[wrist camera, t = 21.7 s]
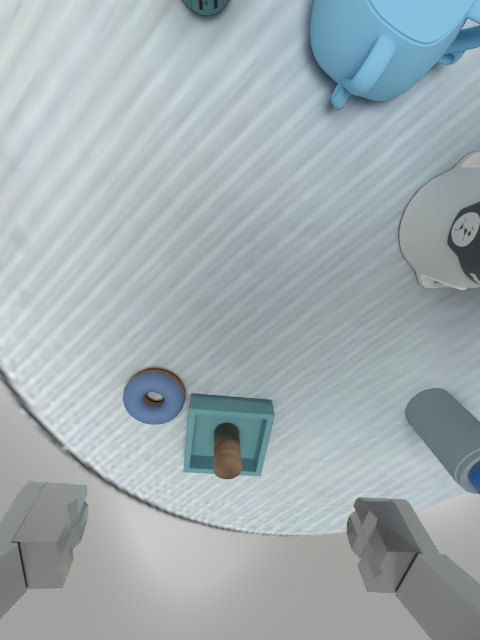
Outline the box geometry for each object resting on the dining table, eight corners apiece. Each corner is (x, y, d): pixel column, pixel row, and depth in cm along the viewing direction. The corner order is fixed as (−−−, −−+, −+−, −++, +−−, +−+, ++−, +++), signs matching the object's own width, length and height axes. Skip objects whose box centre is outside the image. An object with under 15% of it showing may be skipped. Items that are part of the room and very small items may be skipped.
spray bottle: (449, 381, 57) (603, 514, 34) (455, 417, 61) (598, 559, 38) (401, 398, 58) (520, 539, 35) (409, 433, 62) (522, 581, 39)
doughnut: (118, 370, 52) (111, 388, 48) (178, 359, 52) (177, 377, 48) (135, 414, 57) (130, 434, 53) (190, 404, 57) (190, 423, 53)
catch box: (271, 399, 56) (274, 415, 53) (258, 458, 62) (260, 476, 58) (191, 393, 55) (189, 408, 51) (185, 454, 60) (183, 472, 57)
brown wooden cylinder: (232, 418, 56) (234, 454, 49) (243, 436, 58) (246, 472, 51) (209, 428, 57) (208, 464, 49) (221, 445, 59) (221, 482, 51)
